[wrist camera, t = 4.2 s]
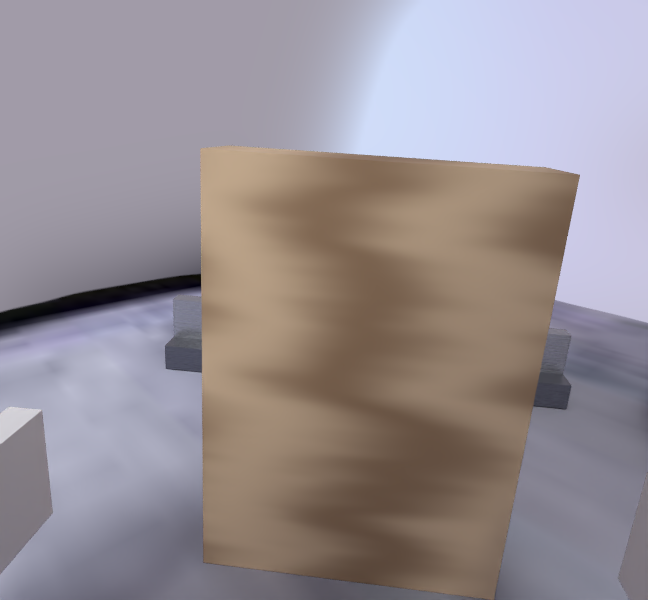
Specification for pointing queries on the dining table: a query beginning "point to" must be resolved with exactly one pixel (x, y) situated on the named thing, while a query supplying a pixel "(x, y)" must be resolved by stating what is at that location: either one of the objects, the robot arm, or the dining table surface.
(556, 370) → the track
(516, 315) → the door
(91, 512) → the dining table surface
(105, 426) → the dining table surface
